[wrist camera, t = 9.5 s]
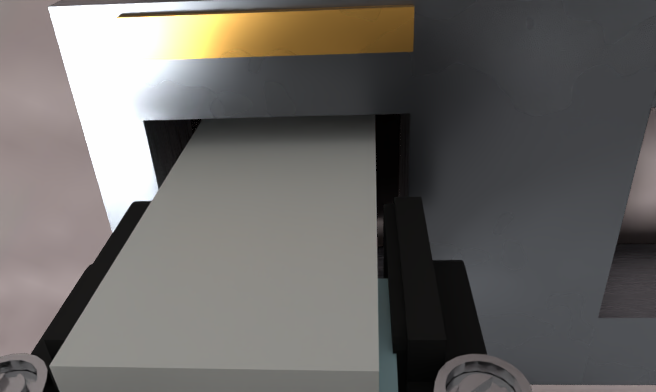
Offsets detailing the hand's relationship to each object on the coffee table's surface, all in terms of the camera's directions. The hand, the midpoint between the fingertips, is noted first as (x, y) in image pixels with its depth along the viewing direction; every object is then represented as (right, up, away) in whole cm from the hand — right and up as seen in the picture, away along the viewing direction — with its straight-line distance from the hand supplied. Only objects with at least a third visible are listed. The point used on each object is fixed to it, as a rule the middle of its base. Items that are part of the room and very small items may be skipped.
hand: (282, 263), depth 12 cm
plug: (0, +2, +3) cm, 3 cm away
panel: (+5, +2, +3) cm, 6 cm away
